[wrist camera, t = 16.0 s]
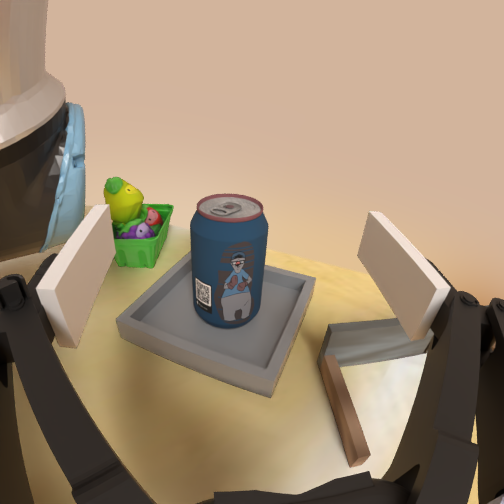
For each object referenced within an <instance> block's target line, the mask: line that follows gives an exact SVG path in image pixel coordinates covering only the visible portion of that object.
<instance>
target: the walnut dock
mask: <svg viewBox="0 0 504 504" xmlns="http://www.w3.org/2000/svg"><path fill="white" fill-rule="evenodd" d="M488 306H489V305H488ZM433 335H434V333H433V331H432V330H431V328H430V329H429V331H428V333H427V335H426V336H425V338H424V339H419V340H413V341H410V339H409V337H408V335H407V334H406V332H405V330H404V329H403V327H402V325H401V324H400V322H399V320H398V319H397V318H393V319H384V320H373V321H362V322H350V323H337V324H329V325H328V328H327V331H326V335H325V338H324V341H323V345H322V348H321V351H320V354H319V357H318V360H317V363H318V366H319V369H320V372H321V375H322V378H323V381H324V384H325V388H326V391H327V394H328V397H329V400H330V403H331V407H332V410H333V413H334V416H335V420H336V423H337V426H338V429H339V433H340V436H341V439H342V443H343V446H344V449H345V453H346V456H347V459H348V463H349V466H350V467H354V466H359V465H362V464H363V463H364V462H365V461H366V460H367V459H368V458H369V456H370V455H371V454H370V451H369V448H368V445H367V442H366V440H365V437H364V434H363V431H362V428H361V425H360V422H359V420H358V417H357V414H356V411H355V408H354V406H353V403H352V400H351V397H350V395H349V392H348V389H347V386H346V384H345V381H344V378H343V376H342V373H341V370H340V368H339V367H344V366H352V365H360V364H367V363H373V362H380V361H386V360H392V359H398V358H403V357H409V356H414V355H419V354H424V353H423V352H424V350H425V349H426V347H427V345H428V343H429V342H430V340H431V338H432V337H433ZM495 344H496V343H495ZM495 344H494V345H493V347H492V350H494V348H495ZM426 353H428V351H427V352H426Z"/></svg>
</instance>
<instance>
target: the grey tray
mask: <svg viewBox="0 0 504 504" xmlns="http://www.w3.org/2000/svg"><path fill="white" fill-rule="evenodd" d="M315 281H316V278H314V277H311V276H307V275H303V274H299V273H295V272H291V271H287V270H283V269H279V268H275V267H272V266H268V265H265V266H264V276H263V286H262V296H261V306H260V309H259V311H258V313H257V314H256V316H255V317H254V318H253V319H252V320H251V321H250V322H248V323H247V324H246V325H244V326H243V327H240V328H237V329H232V330H223V329H218V328H215V327H212V326H210V325H209V324H207V323H206V322H205V321H204V320H203V319H202V318H201V317H200V316H199V315H198V313H197V312H196V310H195V308H194V304H193V286H192V264H191V251H190V252H189V253H188V254H187V255H185V256H184V257H183V258H182V259H181V260H180V261H179V262H178V263H176V264H175V265H174V266H173V267H172V268H171V269H170V270H169V271H167V272H166V273H165V274H164V275H163V276H162V277H161V278H160V279H159V280H158V281H156V282H155V283H154V284H153V285H152V286H151V287H150V288H149V289H148V290H147V291H146V292H144V293H143V294H142V295H141V296H140V297H139V298H138V299H137V300H136V301H135V302H134V303H133V304H131V305H130V306H129V307H128V308H127V309H126V310H125V311H124V312H123V313H122V314H121V315H120V316H119V317H118V318H116V322H117V326H118V330H119V333H120V337H121V338H123V339H125V340H127V341H129V342H131V343H133V344H135V345H138V346H140V347H142V348H144V349H146V350H148V351H150V352H153V353H155V354H157V355H159V356H161V357H164V358H166V359H168V360H170V361H173V362H175V363H177V364H180V365H182V366H185V367H187V368H189V369H192V370H194V371H197V372H199V373H202V374H204V375H207V376H209V377H212V378H215V379H217V380H220V381H222V382H225V383H228V384H231V385H233V386H236V387H239V388H242V389H245V390H248V391H251V392H253V393H256V394H259V395H262V396H266V397H269V398H271V396H272V394H273V392H274V390H275V387H276V385H277V383H278V380H279V378H280V376H281V373H282V371H283V368H284V366H285V364H286V361H287V359H288V356H289V354H290V352H291V349H292V347H293V344H294V342H295V339H296V337H297V334H298V332H299V329H300V326H301V324H302V321H303V319H304V316H305V314H306V311H307V308H308V306H309V303H310V300H311V298H312V295H313V290H314V286H315Z"/></svg>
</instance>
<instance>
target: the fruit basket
mask: <svg viewBox="0 0 504 504" xmlns="http://www.w3.org/2000/svg"><path fill="white" fill-rule="evenodd" d="M104 197H105V202H106V204H109V207H110V215H111V219H112V220H113V223H112V230H113V237H114V243H115V250H116V254H115V256H114V258H115V260H116V262H117V264H118V266H120V267H123V266H127V267H137V268H144V267H147V268H153V267H154V265H155V263H156V259H157V258H158V256H159V253H160V250H161V249H162V246H163V243H164V241H165V239H166V237H167V232H168V227H169V222H170V217H171V214H172V212H173V205H169V204H142V203H143V199H144V197H143V194H142V193H141V192H140V191H139V190H138V189H136V188H135V187H133V186H132V185H131V184H129V183H127V182H126V181H124V180H123V179H121V178H119V177H113V178H112V179H111V178H109V179H108V180H107V182H106V184H105V188H104Z"/></svg>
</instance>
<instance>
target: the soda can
mask: <svg viewBox="0 0 504 504" xmlns="http://www.w3.org/2000/svg"><path fill="white" fill-rule="evenodd" d="M190 234H191V264H192V286H193V304H194V308H195V310H196V312H197V313H198V315H199V316H200V317H201V318H202V319H203V320H204V321H205V322H206V323H207V324H209V325H210V326H212V327H215V328H218V329H223V330H232V329H237V328H240V327H243V326H244V325H246V324H247V323H248V322H250V321H251V320H252V319H253V318H254V317H255V316H256V314H257V313H258V311H259V309H260V306H261V296H262V286H263V276H264V266H265V256H266V246H267V236H268V223H267V220H266V218H265V216H264V214H263V205H262V204H261V203H260V202H259V201H258V200H256V199H254V198H251V197H248V196H244V195H238V194H216V195H211V196H208V197H205V198H203V199H201V200H200V201H199V202H198V203H197V210H196V212H195V214H194V216H193V218H192V220H191V224H190Z"/></svg>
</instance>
